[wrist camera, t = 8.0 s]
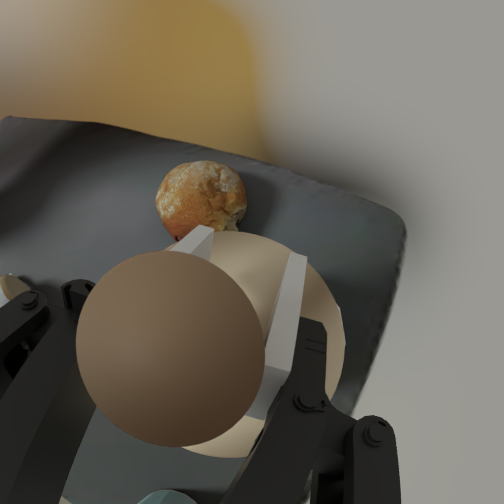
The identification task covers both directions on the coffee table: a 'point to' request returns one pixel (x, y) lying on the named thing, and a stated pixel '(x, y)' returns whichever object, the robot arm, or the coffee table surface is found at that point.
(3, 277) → the ceramic mug
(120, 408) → the lid
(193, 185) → the bread roll
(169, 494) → the disposable coffee cup
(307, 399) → the robot arm
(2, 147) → the coffee table surface
